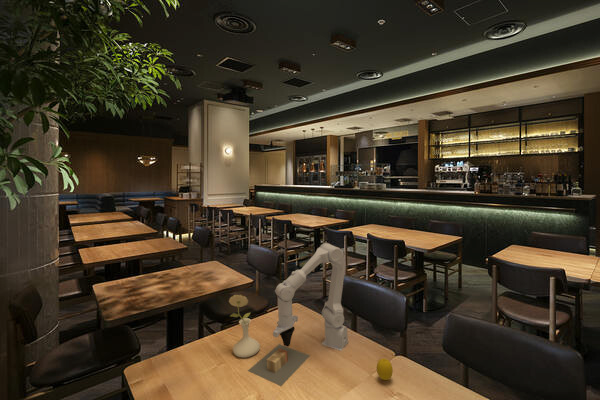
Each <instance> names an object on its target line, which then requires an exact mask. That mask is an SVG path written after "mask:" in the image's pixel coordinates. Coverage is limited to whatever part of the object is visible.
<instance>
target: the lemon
mask: <svg viewBox="0 0 600 400" xmlns="http://www.w3.org/2000/svg"><path fill="white" fill-rule="evenodd" d="M376 372H377V376H378V377H379V378H380V379H381V380H383V381H389V380H390V379H391V378H392V376H393V372H394V371H393V365H392V363H391V361H390V360H388V359H387V358H380V359H378V361H377V363H376Z"/></svg>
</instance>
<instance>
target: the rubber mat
mask: <svg viewBox="0 0 600 400" xmlns="http://www.w3.org/2000/svg"><path fill="white" fill-rule="evenodd" d="M279 348H280V349H282V350H285V351H287V353H288V361H287V362H286V363H285V364H284V365H283V366H282V367H281V368H280V369H279V370H278V371H277V372H276V373H275V372H273V371H270V370H268V369H267V359H268V358H269V357H270V356H271V355H272V354H274V353H275V352H276V351H277V350H278V349H279ZM310 357H311V355H310V354H307V353H306V352H302V351H299V350H296V349H295V348H291V347H289V346H285V345H284V344H280V343H278V344H277V345H276V346H275V347H274V348H272V350H270V351H269V352H267V353H266V354H265V355H264V356H263V357H262V358H261V359H260V360H259V361H257V362H256V363H255V364H254V365H252V367H250V368H249V369H247V371H248V372H249V373H252V374H254V375H255V376H258V377H259V378H262V379H264V380H267V381H268V382H271V383H273V384H276V386H277V385H278V386H280V387H282V386H283V385H284V384H285V383H286V382H288V380H289V378H291V377H292V376H293V375H294V373H295V372H296V371H297V370H298V369H299V368H300V367H301V366H302V365H303V364H304V363H305V362H306V361H307V360H308V359H309V358H310Z"/></svg>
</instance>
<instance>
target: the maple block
mask: <svg viewBox="0 0 600 400" xmlns="http://www.w3.org/2000/svg"><path fill="white" fill-rule="evenodd" d="M287 361H288V353H287V351H285V350H282V349H280V348H279V349H278V350H277V351H276V352H275V353H274V354H272V355H271V356H270V357H269V358H268V359H267V369H268V370H270V371H273V372H275V373H276V372H277V371H278V370H279V369H280V368H281V367H282V366H283V365H284V364H285V363H286V362H287Z"/></svg>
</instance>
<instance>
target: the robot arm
mask: <svg viewBox="0 0 600 400" xmlns="http://www.w3.org/2000/svg"><path fill="white" fill-rule="evenodd" d="M329 263H330V264H331V266H332V267H331V268H332V269H331V275H330V276H331V277H330V284H329V289H328V290H329V291H328V297H327V301H325V302H324V306H323V308H322V311H321V316H322V318H323V319H324V340H323V341H322V342H321V345H322V346H325V347H329V348H331V349H334V350H337V351H339V352H341V351H343V349H344V348H345V347H346V345H348V343H349V339H348V338H349V337H348V335H349V333H348V327H347V326H345V325H343V324H344V322H345V316H344V308H343V306H342V295H343V288H344V287H343V286H344V279H345V275H346V274H345V272H346V264H347V262H346V259H345V253H344V251H343V250H342V249H341V248H340V247H337V246H335V245H334V244H333V245H332V244H330V243H329V242H324V243H322V244H321V245H320V246H319V247H318V248H317V249H316V251H315V253H314V254H313V255H312V256H311V257H310V258H309V259H308V260H307V262H306V263H305V264H304V265H303V266H302V268H300V269H296V270H295V271H294V270H293V271H292V272H291V274H290V275H289V276H288V277H287V279H285V280H283V282H282V283H281V282H280V283H278V285H277V286H276V288H275V290H274V293H275V294H276V296H277V311H278V312H277V313H278V314H277V316H278V320H277V322H276V324H277V326H276V327H275V329H274V330H273V331H272V335H273V337H274V338H278V337H279V336H280V337H281V339H282V342H283V346H286V347H289V346H291V340H292V336H293V333H294V331H295V330H296V329H295V326H294V325H295V323H297V322H298V321H299V316H298V315H293V300H292V299H293V298H294V296H295V292H296V291H298V289H299V288H300V287H301V286H302V285H303V284H304V283H305V282H306V280H307V276H308V275H309V274H310V273H311V272H312V271H314V270H315V269H316V268H317V267H318V266H319V265H320V264H329Z"/></svg>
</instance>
